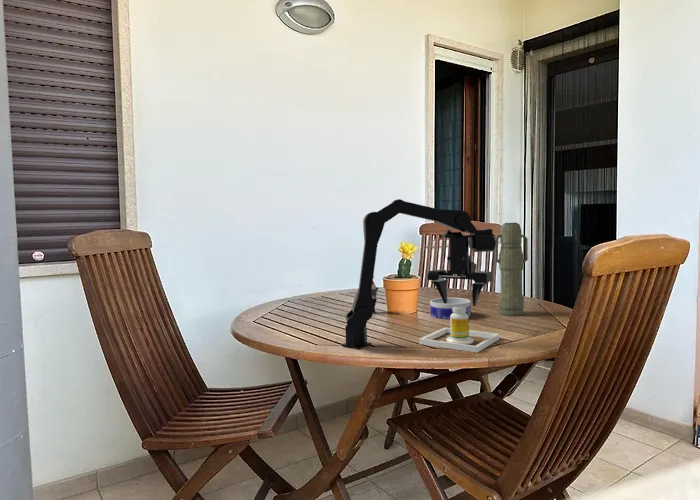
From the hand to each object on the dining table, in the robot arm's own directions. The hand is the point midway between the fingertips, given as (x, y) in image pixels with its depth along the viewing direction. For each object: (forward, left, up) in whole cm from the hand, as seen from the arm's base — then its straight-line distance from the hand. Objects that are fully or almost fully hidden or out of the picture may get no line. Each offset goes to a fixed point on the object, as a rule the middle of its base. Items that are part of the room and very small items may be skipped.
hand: (459, 304), depth 142 cm
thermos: (+49, 0, -11) cm, 50 cm away
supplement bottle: (0, 0, -11) cm, 11 cm away
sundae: (+25, +49, -11) cm, 56 cm away
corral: (0, 0, -11) cm, 11 cm away
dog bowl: (+35, +19, -12) cm, 41 cm away
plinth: (0, 0, -11) cm, 11 cm away
